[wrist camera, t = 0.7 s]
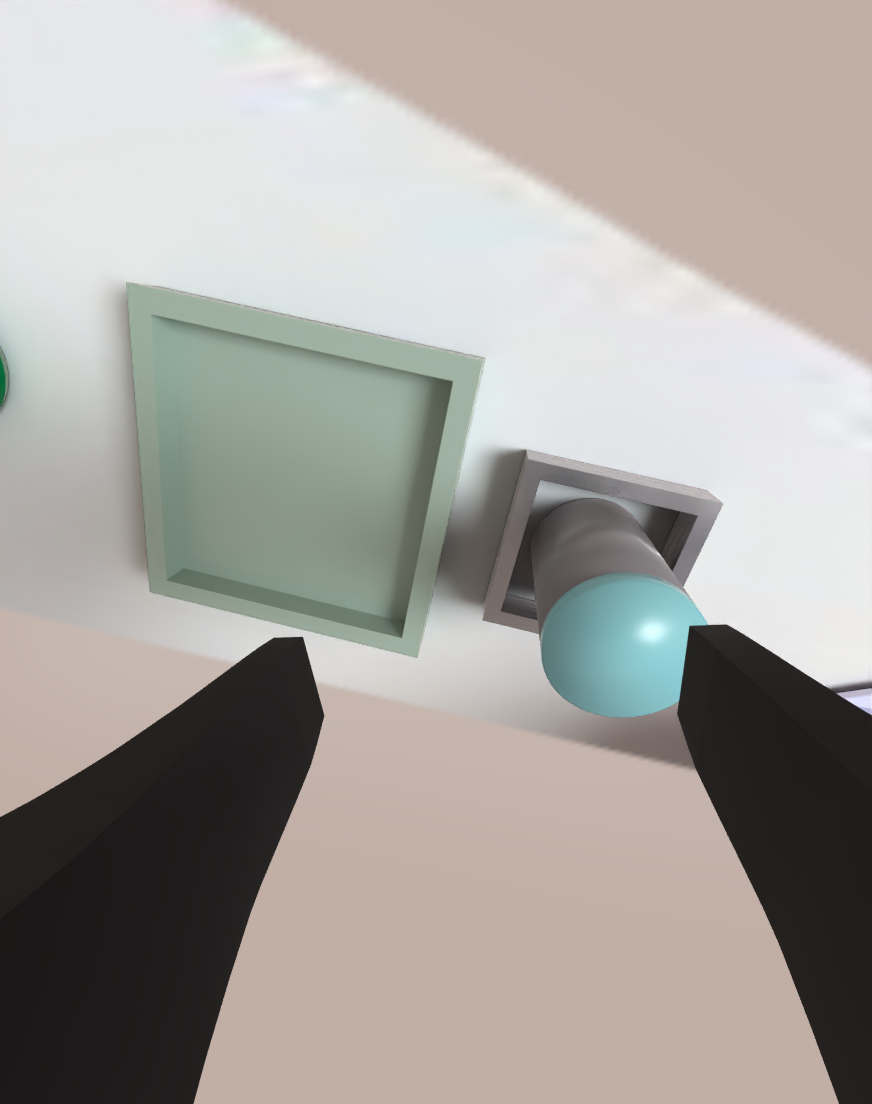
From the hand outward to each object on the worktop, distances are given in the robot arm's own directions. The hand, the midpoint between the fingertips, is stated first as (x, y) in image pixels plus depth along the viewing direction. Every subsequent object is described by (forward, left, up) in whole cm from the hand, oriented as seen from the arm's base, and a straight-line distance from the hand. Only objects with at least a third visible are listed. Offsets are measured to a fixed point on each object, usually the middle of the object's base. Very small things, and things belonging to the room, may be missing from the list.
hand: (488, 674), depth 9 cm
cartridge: (-3, -3, -11) cm, 12 cm away
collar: (-3, -3, -11) cm, 12 cm away
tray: (+3, +7, -11) cm, 13 cm away
